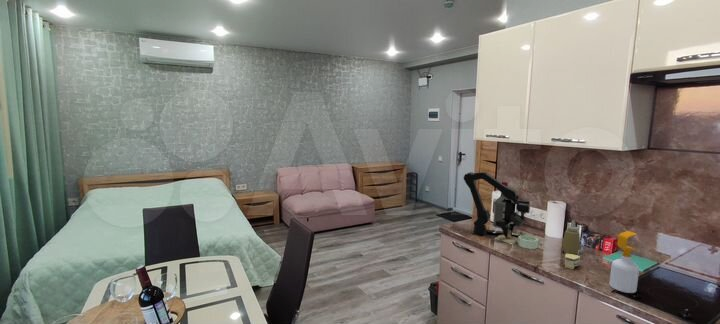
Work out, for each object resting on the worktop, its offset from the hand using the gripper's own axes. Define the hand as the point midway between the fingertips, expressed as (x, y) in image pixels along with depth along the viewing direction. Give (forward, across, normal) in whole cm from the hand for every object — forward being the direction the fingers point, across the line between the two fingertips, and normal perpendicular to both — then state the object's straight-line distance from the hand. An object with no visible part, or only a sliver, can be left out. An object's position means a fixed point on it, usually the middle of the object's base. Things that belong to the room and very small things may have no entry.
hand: (507, 236), depth 197 cm
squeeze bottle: (+3, +10, -30) cm, 32 cm away
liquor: (+3, +21, +17) cm, 27 cm away
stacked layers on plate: (+3, -8, -38) cm, 39 cm away
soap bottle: (+3, -13, -60) cm, 61 cm away
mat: (+2, 0, 0) cm, 2 cm away
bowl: (+2, 0, -12) cm, 12 cm away
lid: (+2, 0, 0) cm, 2 cm away
